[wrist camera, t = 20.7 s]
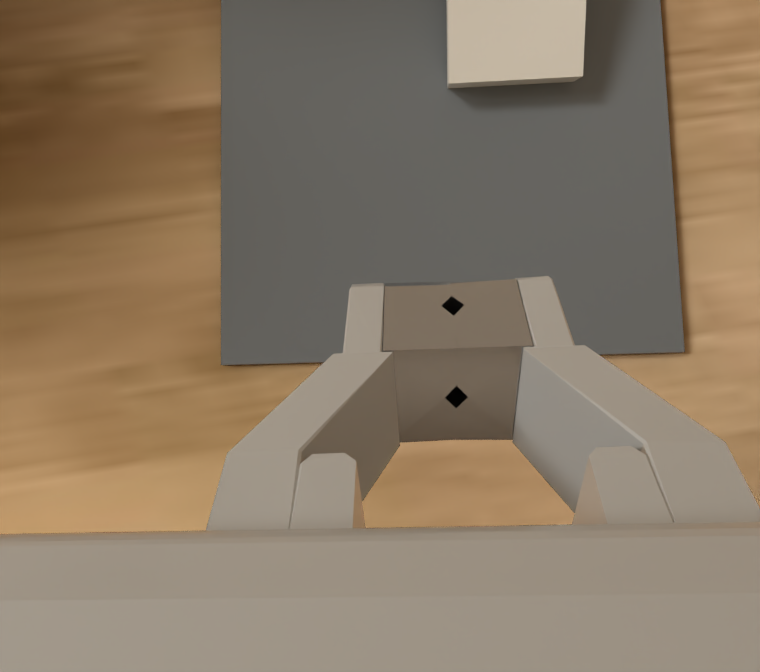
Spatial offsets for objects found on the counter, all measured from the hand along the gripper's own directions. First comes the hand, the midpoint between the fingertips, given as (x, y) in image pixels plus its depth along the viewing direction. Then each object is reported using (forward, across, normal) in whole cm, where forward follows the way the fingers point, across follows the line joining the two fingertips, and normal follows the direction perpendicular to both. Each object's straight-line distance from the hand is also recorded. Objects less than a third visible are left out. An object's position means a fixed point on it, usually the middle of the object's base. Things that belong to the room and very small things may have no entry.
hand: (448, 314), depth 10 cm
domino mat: (+24, -1, -3) cm, 24 cm away
